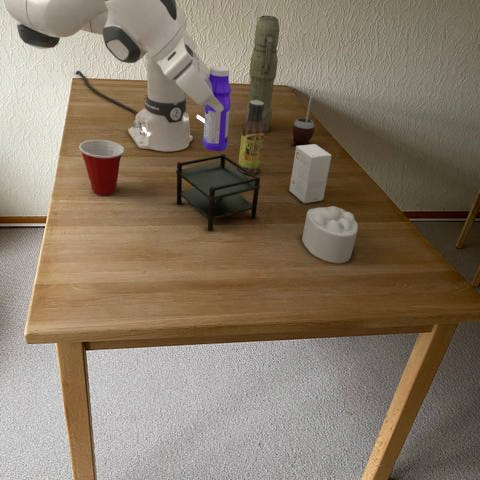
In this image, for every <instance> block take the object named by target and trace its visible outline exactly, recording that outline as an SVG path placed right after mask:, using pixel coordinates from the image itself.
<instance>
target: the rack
mask: <svg viewBox="0 0 480 480" xmlns="http://www.w3.org/2000/svg"><path fill="white" fill-rule="evenodd" d="M217 159H220V160H219V161H216V162H215V161H214V162H211V163H206V164H200V165H195V166H190V167H186V168H183V167H184V166H187V165H194V164H198V163H203V162H208V161H213V160H217ZM226 161H227V162H226ZM232 165H233V166H232ZM234 166H235V167H236V168H237V169H236V168H235V167H234ZM238 168H239V169H241V170H242V171H244V172H245V173H243V172H241V171H239V169H238ZM175 173H176V205H179V206H180V205H182V199H184V200H185V201H186V202H187V203H188V204H190V205H191V206H192V207H193V208H195V210H197V211H198V212H199V213H200V214H202V215H203V216H204V217H205V218H207V231H208V232H213V230H214V220H219V219H221V218H225V217H229V216H232V215H237V214H240V213H244V212H248V211H251V212H250V219H251V220H255V219H256V217H257V211H258V210H257V209H258V200H259V194H260V193H259V191H260V189H261V185H260V184H261V177H260V176H258V175H256V174H255V173H254V174H252V173H251V172H249V171H248V170H246V169H245V168H243V167H242V166H240V165H239V163H237V161H234V160H233V159H231V158H230V157H228V156H227V155H226V153H221V154H218V155H213V156H208V157H203V158H198V159H193V160H188V161H181V162H180V161H178V162H177V163H176V170H175ZM246 173H247V175H246ZM249 177H251V178H249ZM183 180H184V181H185V182H187V183H188V184H189V185H191V186H192V187H193V188H189V189H184V190H183V189H182V188H183V187H182V185H183ZM251 191H253V193H252V194H253V195H252V202H250V201H249V200H247V199H246V198H245V197H244V196H243V195H241V194H244V193H247V192H248V193H249V192H251Z"/></svg>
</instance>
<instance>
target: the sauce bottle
mask: <svg viewBox="0 0 480 480" xmlns="http://www.w3.org/2000/svg"><path fill="white" fill-rule="evenodd" d="M263 109H264V103H263V102H262V101H258V100H252V101H250V103H249V115H248V119H247V121H245V122H244V123H243V125H242V131H241V137H240V138H241V139H240V146H239V147H240V148H239V156H238V163H237V164H239V165H240V166H242V167H243V168H245V169H246V170H248V171H249V172H251V173H252V174H254V175H255V174H258V172H259V168H260V164H261V158H262V150H263V145H264V137H265V132H264V125H263V123H262V121H261V120H262V112H263ZM237 170H238V171H239V172H241V173H242V174H245V175H246V174H247V173H245V172H244V171H242V170H241V169H239V168H238V167H237ZM247 175H248V174H247Z"/></svg>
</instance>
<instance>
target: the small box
mask: <svg viewBox="0 0 480 480" xmlns="http://www.w3.org/2000/svg"><path fill="white" fill-rule="evenodd" d="M332 155H333V154H331V153H329V152H328V151H326V150H325V149H323V148H321V146H319V145H318V144H316V143H313V144H307V145H296V146H295V152H294V158H293V164H292V171H291V176H290V183H289V190H288V191H289V192H290V193H291V194H292V195H294V196H295V197H296V198H297V199H298V200H299V201H300V202H302V203H303V204H308V203H309V204H310V203H314V202H322V201H323V200H324V197H325V191H326V188H327V182H328V176H329V173H330V172H329V171H330V166H331V160H332Z"/></svg>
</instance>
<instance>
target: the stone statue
mask: <svg viewBox="0 0 480 480" xmlns="http://www.w3.org/2000/svg"><path fill="white" fill-rule="evenodd" d="M279 22H280V21H279V19H278V18H277V17H276V16H274V15H261V16H259V17H258V19H257V21H256V24H255V30H254V41H253V43H254V47H253V51H252V54H251V56H250V62H249V63H250V64H249V65H250V66H249V79H250V80H249V91H248V102H247V105H246V108H245V118H244V121H245V122H246V121H247V119H248V115H249V103H250V101H252V100H258V101H262V102H263V103H264V109H263V112H262V120H261V121H262V123H263V125H264V133H267V132H269V131H270V125H271V123H272V114H273V110H272V100H273V93H274V92H273V91H274V82H275V79H276V78H277V69H278V62H279V60H278V59H279V58H278V54H277V53H278V50H277V48H278V45H279V36H280V23H279Z"/></svg>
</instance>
